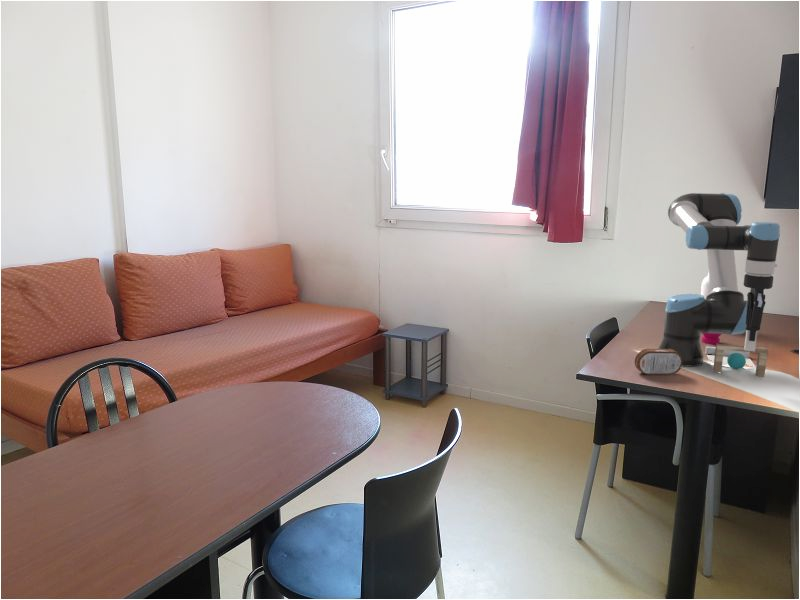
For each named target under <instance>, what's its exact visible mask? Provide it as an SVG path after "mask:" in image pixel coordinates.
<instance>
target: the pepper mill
mask: <svg viewBox="0 0 800 600" xmlns="http://www.w3.org/2000/svg"><path fill="white" fill-rule="evenodd" d="M701 334H702V337H701V343H704V344H708V345H716V344H720V340H721V339H720V338H719V337H721V336H722V334H718V333H701Z"/></svg>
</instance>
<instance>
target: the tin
mask: <svg viewBox="0 0 800 600" xmlns="http://www.w3.org/2000/svg"><path fill="white" fill-rule="evenodd" d="M682 363H683V360H682V357H681V355H680V354H679V353H677V352H676V351H675V350H673V349H658V348H645V349H642V350H640V351H639V352H638V353H637V354H636V356H635V358H634V366H635V369H637V370H638V371H639V372H640V373H641V374H644V375H650V376H651V375H652V376H661V375H662V376H671V375H675V374H677V373H678V372H679V371H680V370H681V369H682V367H683V366H682Z"/></svg>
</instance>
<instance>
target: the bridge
mask: <svg viewBox="0 0 800 600" xmlns="http://www.w3.org/2000/svg"><path fill="white" fill-rule="evenodd" d="M744 346H745V345H736V344H724V343H719V344H715V347H716V349H715V355H714V356H715V358H714V366H712V367H713V369H712V371H713V370H714V371H713V372H721V373H722V368H723V367H722V362H723V353H724V350H732V351H743V352H750V353H757V359H756V365H755V366H756V370H755V376H756V375H757V376H758V377H757V376H756V377H757V378H763V377H764V378H765V376H766V367H767V360H768V359H767V358H768V354H769V353H768V352H769V349H768V348H767V347H761V346H760V347H759V346H756V347H755V351H745V350H744Z"/></svg>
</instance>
